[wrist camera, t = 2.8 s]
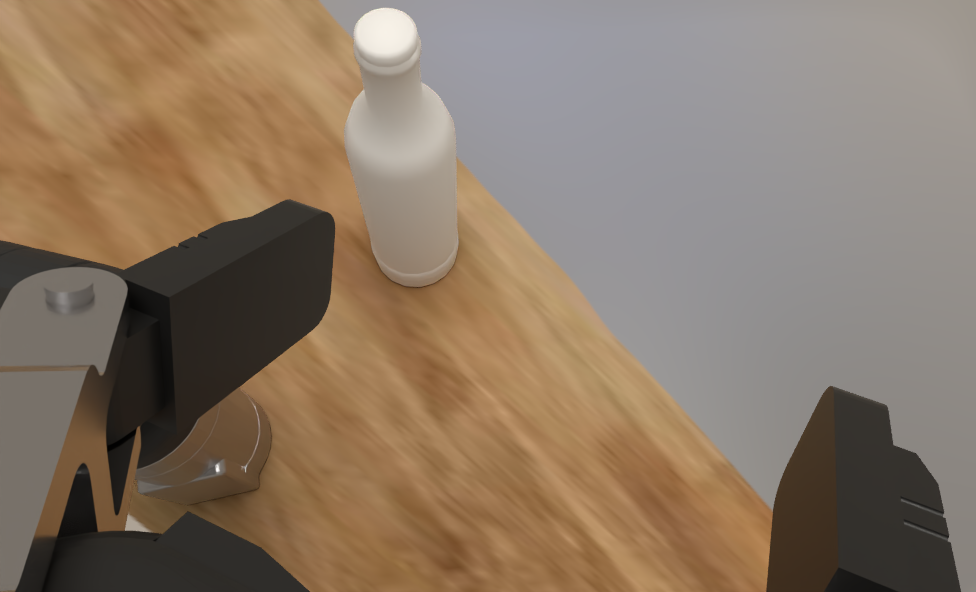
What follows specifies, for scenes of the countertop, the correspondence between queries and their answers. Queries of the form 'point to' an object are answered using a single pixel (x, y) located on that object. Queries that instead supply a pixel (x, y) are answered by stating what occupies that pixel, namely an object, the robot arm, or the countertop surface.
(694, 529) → the countertop surface
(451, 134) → the bottle
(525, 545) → the countertop surface
